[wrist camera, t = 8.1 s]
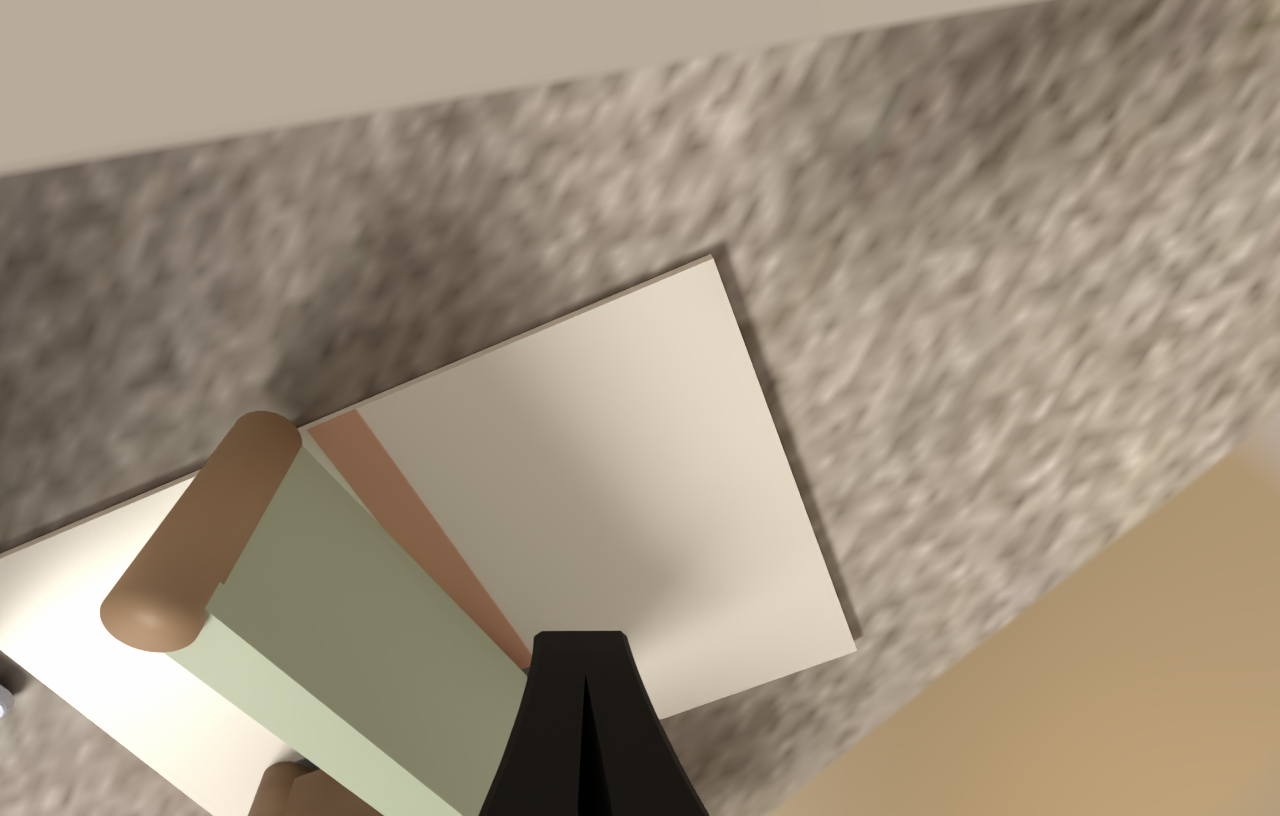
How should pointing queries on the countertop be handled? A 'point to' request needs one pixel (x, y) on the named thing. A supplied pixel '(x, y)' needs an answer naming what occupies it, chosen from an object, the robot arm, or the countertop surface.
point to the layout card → (502, 528)
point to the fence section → (305, 794)
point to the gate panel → (321, 628)
